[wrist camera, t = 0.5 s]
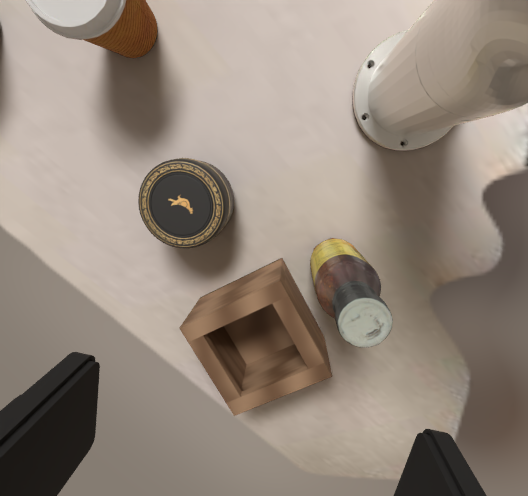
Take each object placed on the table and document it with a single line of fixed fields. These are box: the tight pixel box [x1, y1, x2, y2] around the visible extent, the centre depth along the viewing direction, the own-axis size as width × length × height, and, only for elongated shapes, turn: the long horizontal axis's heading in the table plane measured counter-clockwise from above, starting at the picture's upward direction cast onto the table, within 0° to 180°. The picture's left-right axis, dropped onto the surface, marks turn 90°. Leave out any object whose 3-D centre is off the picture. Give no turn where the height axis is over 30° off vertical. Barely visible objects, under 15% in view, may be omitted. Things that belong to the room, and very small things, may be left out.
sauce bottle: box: [310, 238, 393, 347], centre depth 33 cm, size 7×6×20 cm
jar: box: [139, 158, 234, 248], centre depth 39 cm, size 10×10×8 cm
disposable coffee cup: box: [26, 0, 157, 58], centre depth 32 cm, size 10×10×12 cm
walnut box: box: [180, 258, 332, 416], centre depth 42 cm, size 13×13×9 cm
